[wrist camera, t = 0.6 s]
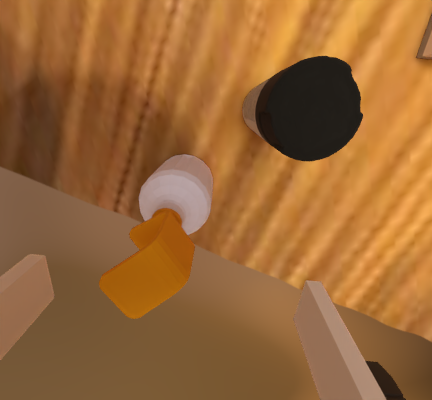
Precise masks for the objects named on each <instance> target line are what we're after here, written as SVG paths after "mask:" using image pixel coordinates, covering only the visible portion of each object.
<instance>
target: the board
mask: <svg viewBox="0 0 432 400" xmlns="http://www.w3.org/2000/svg"><path fill="white" fill-rule="evenodd" d="M416 58H424V59H432V15H431V18H430V21H429V23H428V26H427V29H426V32H425V35H424V37H423V40H422V43H421V46H420V48H419V51H418V54H417V57H416Z"/></svg>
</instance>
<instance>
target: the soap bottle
mask: <svg viewBox="0 0 432 400" xmlns="http://www.w3.org/2000/svg"><path fill="white" fill-rule="evenodd" d="M212 192H213V176H212V174H211V171H210V169H209V167H208V166H207V165H206V164H205V163H204V162H203V161H202V160H200V159H199V158H197V157H195V156H192V155H186V154H182V155H176V156H173V157H171V158H170V159H168V160H166V161H165V162H164V163H163V164H162V165H161V166H160V167H159V168H158V169H157V170H156V171H155V172H154V173H153V174H152V175H151V176H150V177H149V178H148V179H147V181H146V182H145V183H144V185H143V186H142V188H141V191H140V195H139V205H140V213H141V215H142V216H143V218H144V220H145V222H143V223H141V224H140V225H137V226H136V227H134V228H132V230H131V231H130V233H129V235H130V238H131V240H132V241H133V242H134V243H135V245H136V246H137V247H138V248H139V251H138V252H136V253H135V254H133V255H132V256H130V257H129V258H127V259H126V260H124V261H123V262H121V263H120V264H118V265H117V266H115V267H114V268H112V269H111V270H109V271H107V272H106V273H104V274H103V275H102V277H101V279H100V281H99V285H100V289H101V290H102V291H103V292H104V293H105V294H106V295H107V296H108V297H109V298H110V299H111V300H112V301H113V302H114V304H115V305H116V306H117V307H118V308H119V309H120V310H121V311H122V312H123V313H124V314H125V315H126V316H127V317H129V318H132V319H136V318H140V317H141V316H143V315H144V314H146V313H147V312H149V311H150V310H152V309H153V308H154V307H156V306H158V305H159V304H161V303H162V302H164V301H165V300H167V299H168V298H170V297H171V296H173V295H174V294H175V293H177V292H178V291H179V290H180V289H181V288H182V287H183V286H184V285H185V283H186V282H187V281H188V278H189V276H190V271H191V266H192V260H193V254H194V249H195V246H194V244H193V242H192V241H191V240H190V238H189V237H188V235H189V234H191V233H193V232H195V231H197V230H198V229H199V228H200V227H201V226H202V225H203V224H204V223H205V222H206V221H207V218H208V216H209V213H210V211H211V202H212Z"/></svg>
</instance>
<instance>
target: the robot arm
mask: <svg viewBox="0 0 432 400" xmlns="http://www.w3.org/2000/svg"><path fill="white" fill-rule="evenodd" d="M54 297H55V296H54V293H53V288H52V284H51V279H50V275H49V270H48V266H47V262H46V257H45V255H35V254H29V255H28V256H26V257H25V258H24V259H22V260H21V261H20V262H19V263H18V264H16V265H15V266H14V267H12V268H11V269H10V270H9V271H7V272H6V273H5V274H3V275H2V276H1V277H0V360H1V359H2V358H3V357H4V355H5V354H6V353H7V352H8V351H9V350H10V348H11V347H12V346H13V345H14V344H15V343H16V341H17V340H18V339H19V338H20V337H21V336H22V334H23V333H24V332H25V331H26V330H27V329H28V328H29V326H30V325H31V324H32V323H33V322H34V321H35V319H36V318H37V317H38V316H39V315H40V313H41V312H42V311H43V310H44V309H45V308H46V306H47V305H48V304H49V303H50V302H51V301H52V300H53V299H54ZM294 322H295V325H296V328H297V331H298V334H299V337H300V340H301V343H302V346H303V349H304V352H305V355H306V358H307V361H308V364H309V367H310V370H311V373H312V376H313V379H314V382H315V385H316V388H317V391H318V394H319V397H320V400H406V399H405V398H403V394H402V393H401V391H400V389H399V388H398V386H397V384H396V383H395V381H394V380H393V378H392V377H391V376H390V375H389V374H388V373H387V372H386V370H385V369H384V368H383V367H382V366H381V365H380V364H379V363H378V362H370V361H365V360H364V358H363V356H362V355H361V353H360V351H359V349H358V348H357V346H356V344H355V342H354V340H353V339H352V337H351V335H350V333H349V332H348V330H347V328H346V326H345V324H344V322H343V321H342V319H341V317H340V315H339V314H338V312H337V310H336V308H335V306H334V304H333V303H332V301H331V299H330V297H329V295H328V294H327V292H326V290H325V288H324V286H323V285H322V283H321V282H318V281H307V280H306V282H305V285H304V288H303V291H302V294H301V298H300V301H299V304H298V307H297V310H296V313H295V316H294Z"/></svg>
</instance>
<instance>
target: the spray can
mask: <svg viewBox="0 0 432 400" xmlns="http://www.w3.org/2000/svg"><path fill="white" fill-rule="evenodd" d="M351 71H352V70H351V67H350V66H349V65H348V64H347V63H346V62H344V61H342V60H340V59H338V58H334V57H328V56H317V57H312V58H307V59H304V60H301V61H299V62H298V63H296V64H294V65H292V66H290V67H288V68H286V69H284V70H282V71H280V72H279V73H277V74H275V75H274V76H273V77H271V78H270V79H268V80H266V81H265V82H263V83H261V84H260V85H258V86H257V87H255V88H254V89H252V90H251V91H250V92H249V93H248V95H247V96H246V98H245V100H244V103H243V109H242V113H243V118H244V121H245V123H246V124H247V126H248V127H249V128H250V129H251V130H253V131H254V132H255V133H256V134H257V135H259V136H260V137H261V138H262V139H264V140H265V141H266V142H267V143H269V144H270V145H271V146H273V147H274V148H276V149H277V150H278V151H280V152H281V153H282V154H284V155H286V156H288V157H290V158H293V159H295V160H300V161H315V160H320V159H323V158H326V157H329V156H331V155H332V154H334V153H336V152H337V151H339V150H340V149H342V148H343V147H344V146H345V145H346V144H347V143H348V142H349V141H350V140H351V139H352V138H353V136H354V135H355V133H356V131H357V130H358V128H359V126H360V123H361V121H362V118H363V114H362V113H361V112H360V100H361V96H360V92H359V89H358V86H357V84H356V82H355V81H354V79H353V77H352V74H351Z"/></svg>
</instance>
